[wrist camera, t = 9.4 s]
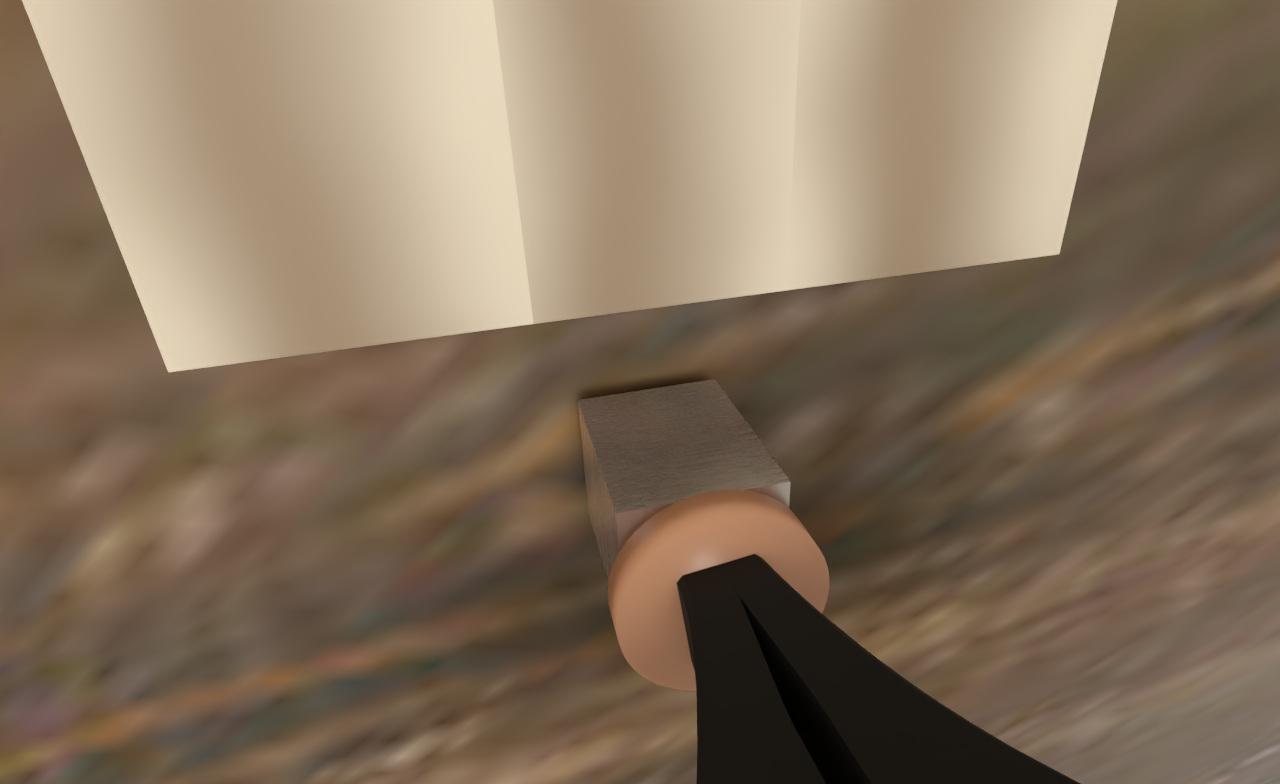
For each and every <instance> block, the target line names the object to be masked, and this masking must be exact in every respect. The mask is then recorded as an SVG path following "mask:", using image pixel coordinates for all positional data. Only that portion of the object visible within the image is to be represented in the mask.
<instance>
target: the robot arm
mask: <svg viewBox="0 0 1280 784" xmlns="http://www.w3.org/2000/svg"><path fill="white" fill-rule="evenodd" d="M677 588H678V593H679V598H680V603H681V608H682V614H683V619H684V624H685V629H686V635H687V640H688V645H689V650H690V656H691V661H692V664H693V667H694V670H695V677H696V691H697V735H698V753H697V784H1080V783H1078V782H1076V781H1074V780H1073V779H1071V778H1069V777H1067V776H1065V775H1063V774H1061V773H1059V772H1057V771H1056V770H1054V769H1052V768H1050V767H1048V766H1046V765H1044V764H1042V763H1041V762H1039V761H1037V760H1035V759H1033V758H1031V757H1029V756H1027V755H1026V754H1024V753H1022V752H1020V751H1018V750H1016V749H1014V748H1013V747H1011V746H1009V745H1007V744H1006V743H1004V742H1002V741H1001V740H999V739H997V738H996V737H994V736H992V735H991V734H989V733H987V732H985V731H984V730H982V729H980V728H979V727H977V726H975V725H974V724H972V723H970V722H969V721H967V720H966V719H964V718H963V717H961V716H959V715H958V714H956V713H955V712H953V711H952V710H950V709H948V708H947V707H945V706H944V705H942V704H941V703H939V702H938V701H936V700H935V699H933V698H932V697H930V696H929V695H927V694H926V693H924V692H923V691H921V690H920V689H919V688H917V687H916V686H914V685H913V684H911V683H910V682H908V681H907V680H906V679H904V678H903V677H902V676H900V675H899V674H898V673H896V672H895V671H893V670H892V669H891V668H889V667H888V666H887V665H885V664H884V663H882V662H881V661H880V660H878V659H877V658H876V657H875V656H873V655H872V654H871V653H869V652H868V651H867V650H866V649H864V648H863V647H862V646H860V645H859V644H858V643H857V642H855V641H854V640H853V639H852V638H851V637H849V636H848V635H847V634H846V633H844V632H843V631H842V630H841V629H840V628H838V627H837V626H836V625H835V624H833V623H832V622H831V621H830V620H829V619H827V618H826V617H825V616H824V615H823V614H822V613H820V612H819V611H818V610H817V609H816V608H815V607H814V606H812V605H811V604H810V603H809V602H808V601H807V600H806V599H805V598H804V597H802V596H801V595H800V594H799V593H798V592H797V591H796V590H795V589H794V588H793V587H791V586H790V585H789V584H788V583H787V582H786V581H785V580H784V579H783V578H782V577H781V576H780V575H779V574H778V573H777V572H776V571H775V570H774V569H773V568H772V567H771V566H770V565H769V564H768V563H767V562H766V561H765V560H764V559H763V558H762V557H760V556H758V555H756V554H752V555H749V556H746V557H742V558H739V559H736V560H732V561H729V562H726V563H722V564H719V565H716V566H712V567H709V568H706V569H702V570H699V571H696V572H692V573H689V574H686V575H682V577H681V578H680V579H679V580H678V582H677Z"/></svg>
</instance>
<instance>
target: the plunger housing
mask: <svg viewBox="0 0 1280 784" xmlns="http://www.w3.org/2000/svg"><path fill="white" fill-rule="evenodd" d="M578 410H579V420H580V430H581V439H582V449H583V459H584V469H585V479H586V489H587V499H588V509H589V517H590V520H591V524H592V527H593V531H594V534H595V538H596V541H597V545H598V548H599V552H600V555H601V559H602V562H603V566H604V569H605V573H606V576H607V580H608V581H609V576H610V573H611V570H612V566H613V564H614V562H615V560H616V558H617V556H618V554H619V552H620V551H621V549H622V548H623V546H624V544H625V543H626V542H627V541H628V539H629V538H630V537H631V536H632V535H633V533H634V532H635V531H636V530H637V529H638V528H640V527H641V526H642V525H643V524H644V523H645V522H646V521H647V520H649V519H650V518H651V517H653V516H654V515H655V514H657V513H658V512H660V511H662V510H663V509H665V508H667V507H668V506H670V505H672V504H674V503H677V502H679V501H681V500H683V499H686V498H689V497H692V496H694V495H698V494H702V493H706V492H710V491H718V490H747V491H753V492H757V493H761V494H764V495H767V496H769V497H772V498H774V499H776V500H778V501H779V502H781V503H783V504H784V505H785V506H787V507H788V508H789V500H790V483H791V481H790V480H789V479H788V477H787V476H786V475H785V473H784V472H783V471H782V469H781V468H780V467H779V465H778V464H777V463H776V461H775V460H774V458H773V457H772V456H771V454H770V453H769V452H768V450H767V449H766V448H765V446H764V445H763V444H762V442H761V441H760V440H759V438H758V437H757V435H756V434H755V433H754V431H753V430H752V429H751V427H750V426H749V425H748V423H747V422H746V421H745V419H744V418H743V416H742V415H741V414H740V412H739V411H738V410H737V408H736V407H735V406H734V404H733V403H732V402H731V400H730V399H729V398H728V396H727V395H726V393H725V392H724V391H723V389H722V388H721V387H720V385H719V384H718V383H717V381H716V380H715V379H712V380H705V381H699V382H692V383H686V384H679V385H673V386H666V387H660V388H653V389H647V390H640V391H633V392H627V393H620V394H614V395H607V396H601V397H594V398H588V399H581V400H578Z"/></svg>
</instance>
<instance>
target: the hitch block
mask: <svg viewBox="0 0 1280 784" xmlns="http://www.w3.org/2000/svg"><path fill="white" fill-rule="evenodd" d="M22 1H23V4H24V6H25V9H26V12H27V14H28V17H29V19H30V22H31V24H32V27H33V29H34V32H35V34H36V37H37V40H38V42H39V45H40V47H41V50H42V52H43V55H44V57H45V60H46V62H47V65H48V68H49V70H50V73H51V75H52V78H53V80H54V83H55V85H56V88H57V90H58V93H59V95H60V98H61V101H62V103H63V106H64V108H65V111H66V113H67V116H68V118H69V121H70V123H71V126H72V129H73V131H74V134H75V136H76V139H77V141H78V144H79V146H80V149H81V151H82V154H83V156H84V159H85V162H86V164H87V167H88V169H89V172H90V174H91V177H92V179H93V182H94V184H95V187H96V190H97V192H98V195H99V197H100V200H101V202H102V205H103V207H104V210H105V212H106V215H107V218H108V220H109V223H110V225H111V228H112V230H113V233H114V235H115V238H116V240H117V243H118V245H119V248H120V251H121V253H122V256H123V258H124V261H125V263H126V266H127V268H128V271H129V273H130V276H131V279H132V281H133V284H134V286H135V289H136V291H137V294H138V296H139V299H140V301H141V304H142V306H143V309H144V312H145V314H146V317H147V319H148V322H149V324H150V327H151V329H152V332H153V334H154V337H155V340H156V342H157V345H158V347H159V350H160V352H161V355H162V357H163V360H164V362H165V365H166V368H167V370H168V372H175V371H183V370H190V369H198V368H205V367H213V366H220V365H228V364H235V363H243V362H250V361H258V360H265V359H273V358H281V357H288V356H296V355H303V354H311V353H318V352H326V351H333V350H341V349H348V348H356V347H363V346H371V345H379V344H386V343H394V342H401V341H409V340H416V339H424V338H431V337H439V336H446V335H454V334H461V333H469V332H477V331H484V330H492V329H499V328H507V327H514V326H522V325H529V324H537V323H544V322H552V321H560V320H567V319H575V318H582V317H590V316H597V315H605V314H612V313H620V312H627V311H635V310H642V309H650V308H658V307H665V306H673V305H680V304H688V303H695V302H703V301H710V300H718V299H725V298H733V297H740V296H748V295H756V294H763V293H771V292H778V291H786V290H793V289H801V288H808V287H816V286H823V285H831V284H838V283H846V282H854V281H861V280H869V279H876V278H884V277H891V276H899V275H906V274H914V273H921V272H929V271H937V270H944V269H952V268H959V267H967V266H974V265H982V264H989V263H997V262H1004V261H1012V260H1019V259H1027V258H1035V257H1042V256H1050V255H1057V254H1059V253H1060V249H1061V245H1062V240H1063V236H1064V231H1065V227H1066V223H1067V218H1068V214H1069V210H1070V205H1071V201H1072V196H1073V192H1074V188H1075V183H1076V179H1077V175H1078V170H1079V166H1080V161H1081V157H1082V153H1083V148H1084V144H1085V140H1086V135H1087V131H1088V126H1089V122H1090V118H1091V113H1092V109H1093V105H1094V100H1095V96H1096V91H1097V87H1098V83H1099V78H1100V74H1101V70H1102V65H1103V61H1104V56H1105V52H1106V48H1107V43H1108V39H1109V35H1110V30H1111V26H1112V21H1113V17H1114V13H1115V8H1116V4H1117V0H22Z"/></svg>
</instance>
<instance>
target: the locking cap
mask: <svg viewBox="0 0 1280 784" xmlns="http://www.w3.org/2000/svg"><path fill="white" fill-rule="evenodd" d="M752 554H756V555H758V556H760V557H762V558H763V559H764V560H765V561H766V562H767V563H768V564H769V565H770V566H771V567H772V568H773V569H774V570H775V571H776V572H777V573H778V574H779V575H780V576H781V577H782V578H783V579H784V580H785V581H786V582H787V583H788V584H789V585H790V586H791V587H793V588H794V589H795V590H796V591H797V592H798V593H799V594H800V595H801V596H802V597H804V598H805V599H806V600H807V601H808V602H809V603H810V604H811V605H812V606H814V607H815V608H816V609H817V610H818V611H819V612H820V613H823V611H824V608H825V605H826V602H827V599H828V593H829V572H828V566H827V564H826V561H825V558H824V556H823V554H822V552H821V551H820V549H819V548H818V546H817V545H816V543H815V542H814V540H813V539H812V538H811V536H810V535H809V533H808V532H807V530H806V529H805V527H804V526H803V525H802V523H801V522H800V520H799V519H798V518H797V517H796V515H795V514H794V513H793V512H792V511H791V510H790V509H789V508H788V507H787V506H785V505H784V504H783V503H781V502H779V501H778V500H776V499H774V498H772V497H769V496H767V495H764V494H761V493H757V492H753V491H747V490H718V491H710V492H706V493H702V494H698V495H694V496H692V497H689V498H686V499H683V500H681V501H679V502H677V503H674V504H672V505H670V506H668V507H667V508H665V509H663V510H662V511H660V512H658V513H657V514H655V515H654V516H653V517H651V518H650V519H649V520H647V521H646V522H645V523H644V524H643V525H642V526H641V527H640V528H638V529H637V530H636V531H635V532H634V533H633V535H632V536H631V537H630V538H629V539H628V541H627V542H626V543H625V544H624V546H623V548H622V549H621V551H620V552H619V554H618V556H617V558H616V560H615V562H614V564H613V566H612V570H611V573H610V576H609V581H608V588H607V592H608V604H609V609H610V613H611V617H612V620H613V624H614V627H615V631H616V635H617V638H618V642H619V645H620V648H621V651H622V653H623V655H624V657H625V659H626V660H627V662H628V663H629V664H630V666H631V667H632V668H633V669H634V670H635V671H636V672H637V673H639V674H640V675H641V676H642V677H644V678H645V679H647V680H649V681H651V682H653V683H655V684H657V685H660V686H663V687H666V688H670V689H674V690H682V691H696V677H695V670H694V667H693V664H692V661H691V656H690V650H689V645H688V640H687V635H686V629H685V624H684V619H683V614H682V608H681V603H680V598H679V593H678V588H677V582H678V580H679V579H680V578H681V577H682V575H686V574H689V573H692V572H696V571H699V570H702V569H706V568H709V567H712V566H716V565H719V564H722V563H726V562H729V561H732V560H736V559H739V558H742V557H746V556H749V555H752Z"/></svg>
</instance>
